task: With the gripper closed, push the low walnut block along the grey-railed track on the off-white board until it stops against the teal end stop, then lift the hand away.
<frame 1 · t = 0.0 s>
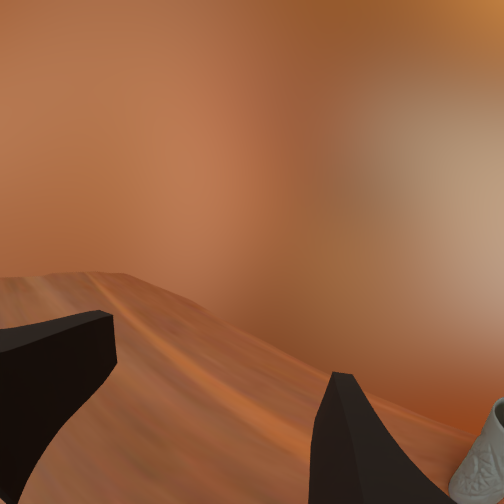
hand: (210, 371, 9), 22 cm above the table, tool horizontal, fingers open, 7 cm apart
grey tapered pot: (472, 492, 18), on the table
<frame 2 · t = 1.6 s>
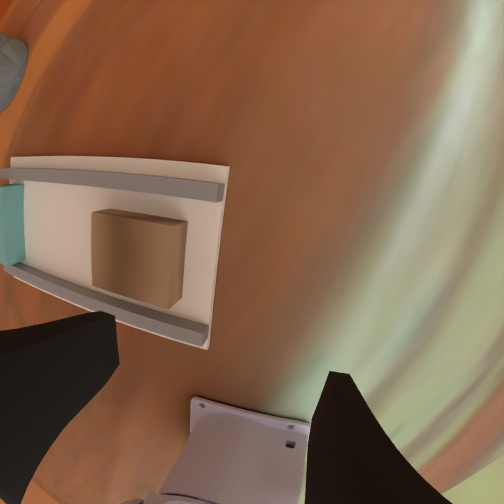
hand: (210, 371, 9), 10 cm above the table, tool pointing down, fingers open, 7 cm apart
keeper: (143, 251, 19), resting on track
track: (84, 235, 20), on the table
grey tapered pot: (8, 78, 19), on the table
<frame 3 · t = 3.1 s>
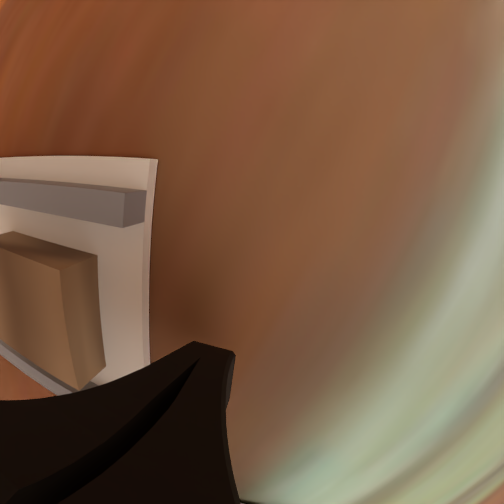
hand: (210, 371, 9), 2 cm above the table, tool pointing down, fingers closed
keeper: (51, 296, 11), resting on track
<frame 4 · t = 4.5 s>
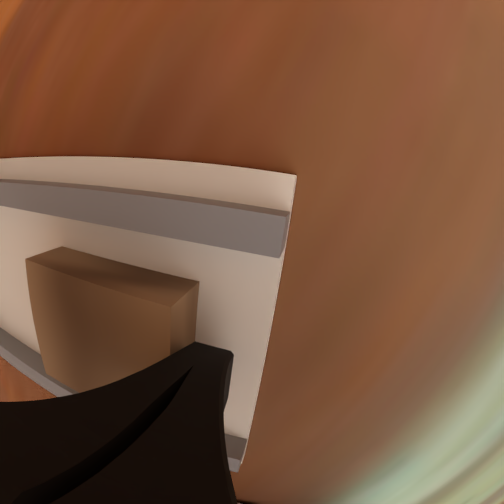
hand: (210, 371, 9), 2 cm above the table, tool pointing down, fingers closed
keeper: (121, 325, 10), point 1 cm above the table, touching gripper
track: (38, 285, 12), on the table
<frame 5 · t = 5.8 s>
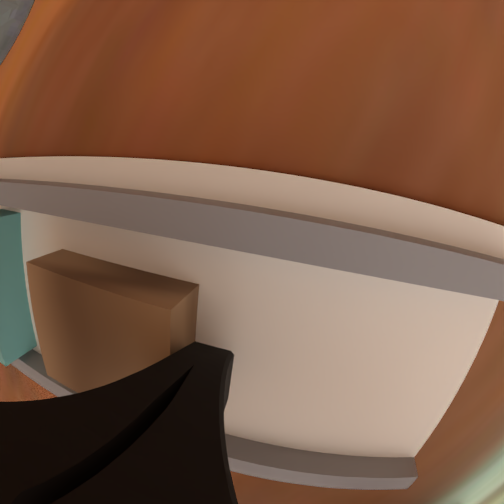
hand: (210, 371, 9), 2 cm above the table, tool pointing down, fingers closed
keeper: (121, 327, 10), point 1 cm above the table, touching gripper, track
track: (169, 333, 10), on the table
grey tapered pot: (0, 31, 9), on the table
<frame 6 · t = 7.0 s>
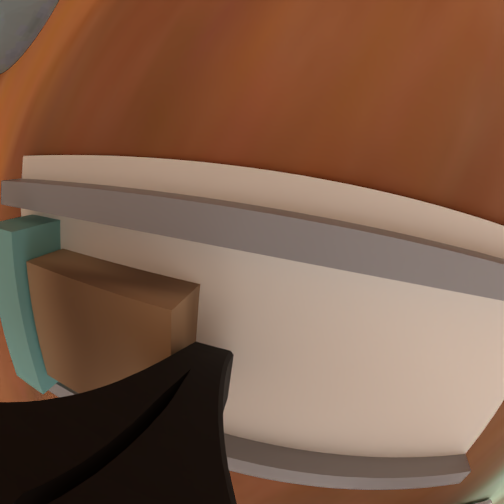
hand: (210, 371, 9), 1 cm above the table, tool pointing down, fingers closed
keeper: (122, 327, 10), resting on track, touching gripper
track: (251, 354, 10), on the table
grey tapered pot: (23, 15, 9), on the table
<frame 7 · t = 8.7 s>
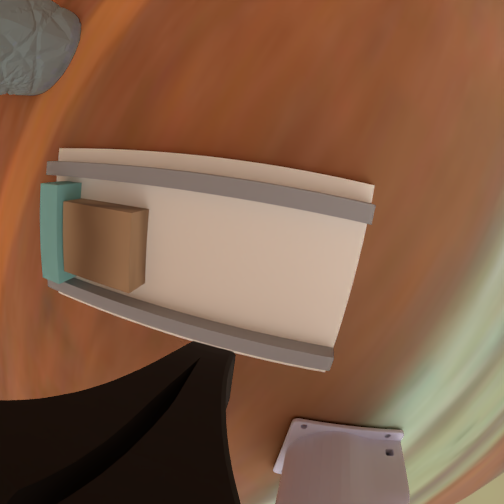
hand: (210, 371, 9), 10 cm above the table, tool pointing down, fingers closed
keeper: (110, 239, 19), resting on track
track: (175, 249, 19), on the table
grey tapered pot: (50, 54, 17), on the table
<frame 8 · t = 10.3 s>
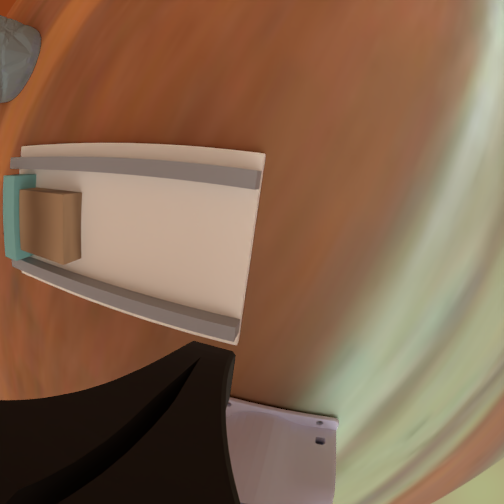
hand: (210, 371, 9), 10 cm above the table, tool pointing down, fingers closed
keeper: (56, 220, 20), resting on track
track: (102, 226, 20), on the table
grey tapered pot: (18, 66, 19), on the table
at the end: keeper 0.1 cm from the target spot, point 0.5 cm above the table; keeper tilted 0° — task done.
